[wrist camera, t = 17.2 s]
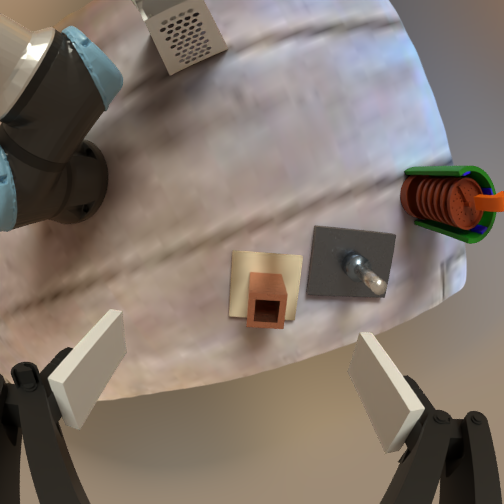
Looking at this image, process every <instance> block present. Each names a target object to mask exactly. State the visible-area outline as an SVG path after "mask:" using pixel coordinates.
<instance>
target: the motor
mask: <svg viewBox="0 0 504 504" xmlns="http://www.w3.org/2000/svg"><path fill="white" fill-rule="evenodd" d="M404 172H405V174H406V175H411V176H409V177H408V178H407V179H406V180H405V181H404V183H403V185H402V188H401V193H400V198H401V203H402V206H403V208H404V210H405V211H406V212H407V213H408V214H409V215H411V216H413V217H416V218H419V219H424V220H421V221H415V225H418V226H421V227H424V228H427V229H430V230H433V231H435V232H438V233H441V234H444V235H447V236H450V237H452V238H455V239H458V240H460V241H463V242H466V243H469V244H472V243H477V242H479V241H481V240H482V239H483V238H484V237H485V236H486V235H487V234H488V233H489V231H490V230H491V228H492V226H493V223H494V220H495V217H496V212H503V211H504V191H501V192H499V193H497V194H496V192H495V189H494V185H493V183H492V181H491V179H490V177H489V176H488V175H487V173H486V172H484V170H482V169H481V168H479V167H476V166H425V167H412V168H409V169H407V170H405V171H404Z"/></svg>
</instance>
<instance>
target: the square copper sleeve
mask: <svg viewBox="0 0 504 504" xmlns="http://www.w3.org/2000/svg"><path fill="white" fill-rule="evenodd" d="M287 297H288V294H287V291H286V287H285V284H284V281H283V277H282V274H272V273H258V272H250V278H249V291H248V306H247V326H246V327H258V328H275V329H283V328H284V321H285V313H286V305H287Z"/></svg>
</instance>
